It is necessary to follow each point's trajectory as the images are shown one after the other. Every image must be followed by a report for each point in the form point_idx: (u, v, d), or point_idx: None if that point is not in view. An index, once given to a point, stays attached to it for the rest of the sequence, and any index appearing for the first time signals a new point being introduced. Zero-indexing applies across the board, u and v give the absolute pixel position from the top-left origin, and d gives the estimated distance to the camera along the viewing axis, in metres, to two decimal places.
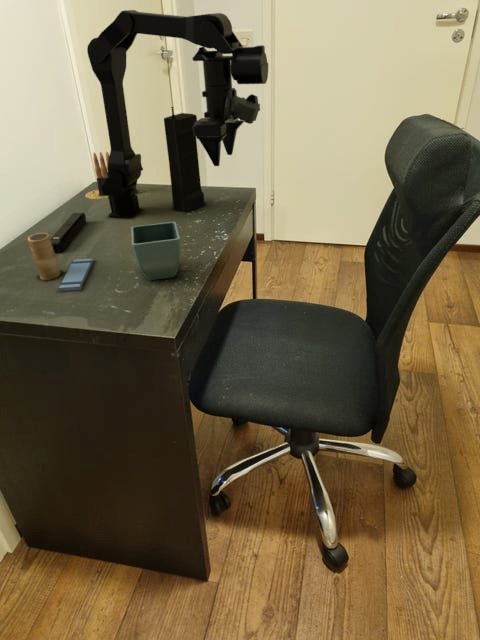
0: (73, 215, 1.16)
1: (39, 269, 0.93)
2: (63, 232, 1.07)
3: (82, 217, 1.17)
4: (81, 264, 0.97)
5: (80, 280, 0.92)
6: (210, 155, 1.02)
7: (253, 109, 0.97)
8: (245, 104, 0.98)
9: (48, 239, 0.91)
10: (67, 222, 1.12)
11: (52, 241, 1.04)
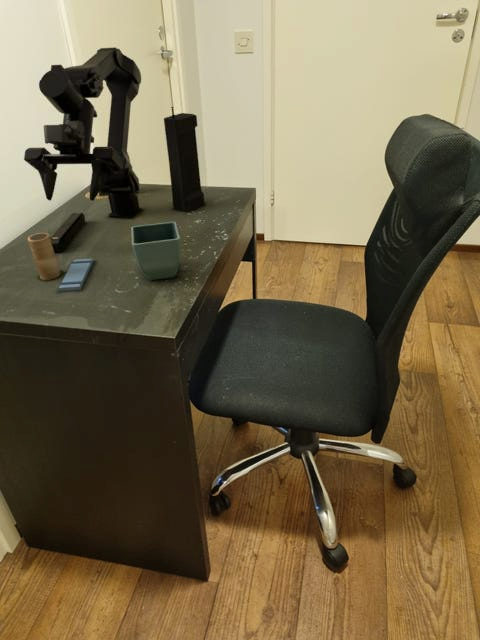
0: (72, 215, 1.16)
1: (39, 269, 0.93)
2: (62, 232, 1.07)
3: (81, 217, 1.17)
4: (81, 264, 0.97)
5: (80, 280, 0.92)
6: None
7: (44, 126, 0.88)
8: None
9: (48, 239, 0.91)
10: (66, 222, 1.12)
11: (51, 241, 1.04)
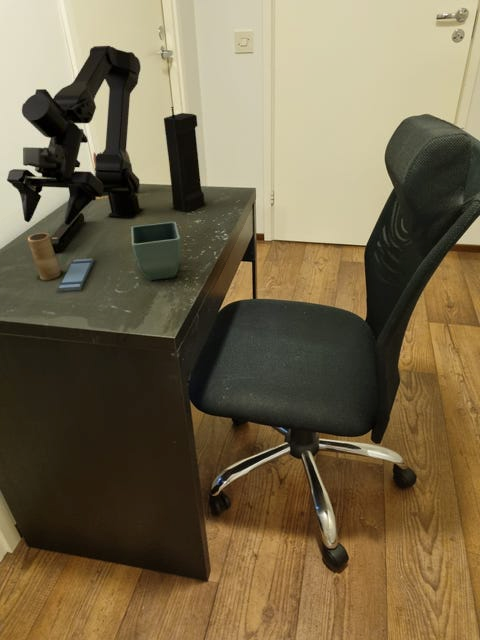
0: None
1: (39, 269, 0.93)
2: (62, 232, 1.07)
3: (80, 217, 1.17)
4: (81, 264, 0.97)
5: (80, 280, 0.92)
6: None
7: (23, 148, 0.88)
8: None
9: (48, 239, 0.91)
10: None
11: (51, 241, 1.04)
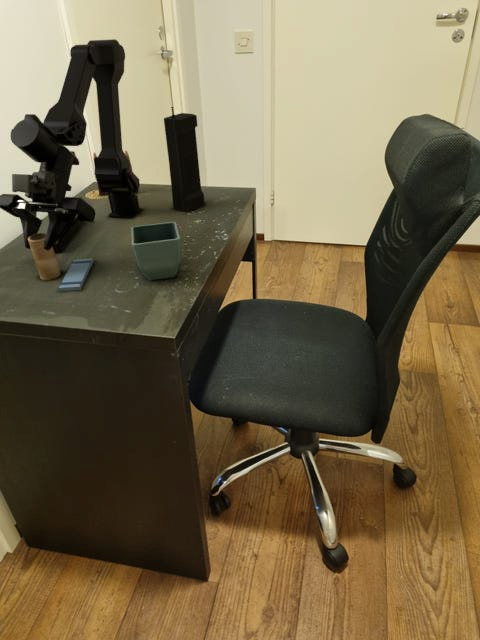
0: None
1: (39, 269, 0.93)
2: None
3: None
4: (81, 264, 0.97)
5: (80, 280, 0.92)
6: None
7: (12, 175, 0.86)
8: None
9: None
10: None
11: None
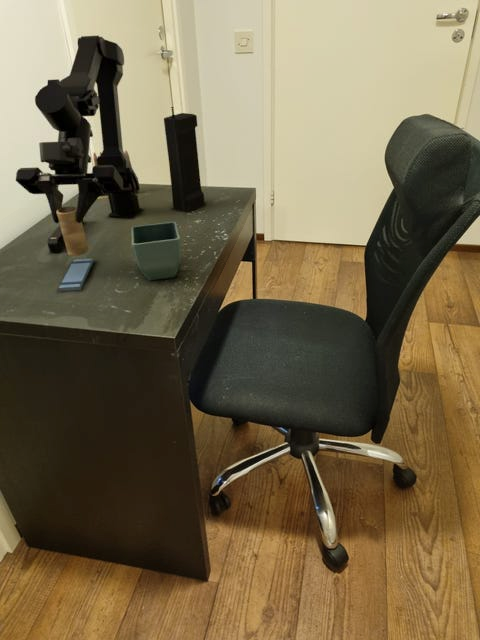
0: None
1: (69, 244, 0.89)
2: (60, 232, 1.07)
3: None
4: (81, 264, 0.97)
5: (80, 280, 0.92)
6: None
7: (39, 143, 0.81)
8: None
9: None
10: None
11: (49, 241, 1.04)
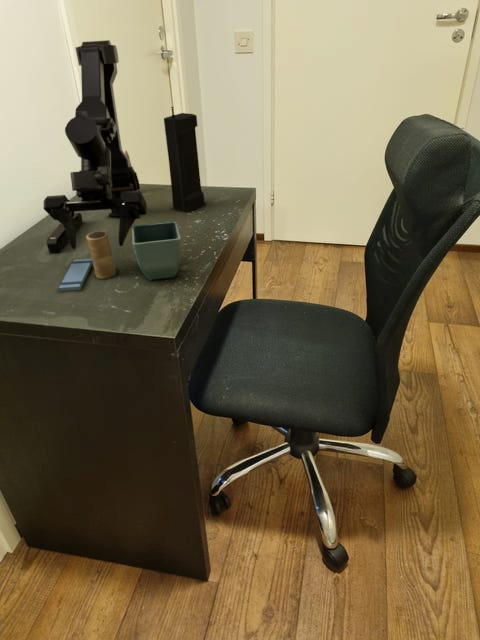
0: None
1: (99, 268, 0.92)
2: (60, 232, 1.07)
3: (78, 217, 1.17)
4: (81, 264, 0.97)
5: (80, 280, 0.92)
6: None
7: (71, 173, 0.84)
8: None
9: (107, 236, 0.91)
10: None
11: (49, 241, 1.04)
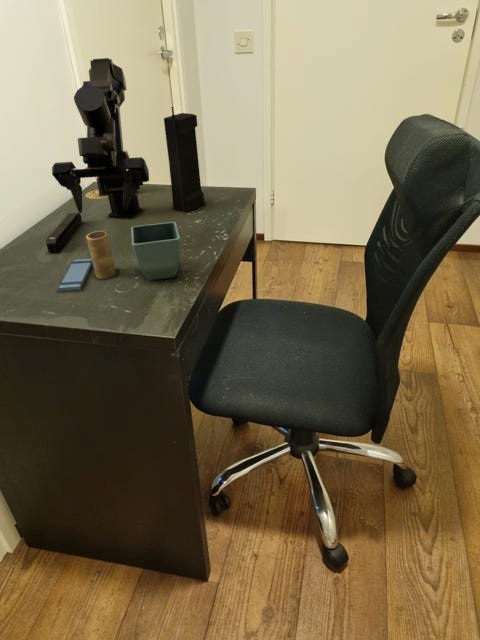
0: (68, 215, 1.16)
1: (99, 268, 0.92)
2: (59, 232, 1.07)
3: (78, 217, 1.17)
4: (81, 264, 0.97)
5: (80, 280, 0.92)
6: None
7: (78, 139, 0.90)
8: None
9: (107, 236, 0.91)
10: (63, 222, 1.12)
11: (48, 241, 1.04)
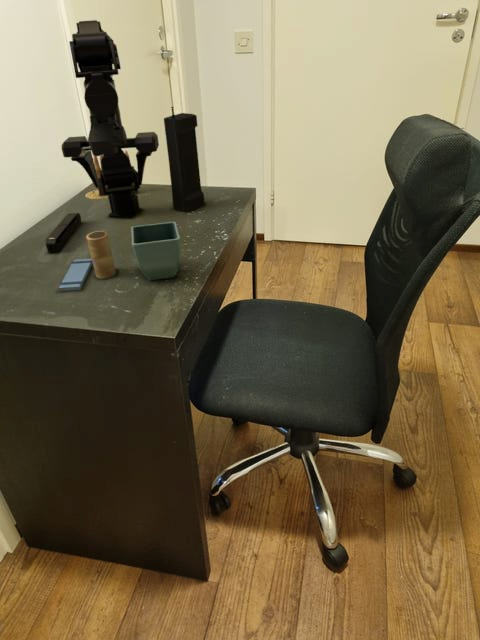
0: (68, 215, 1.16)
1: (99, 268, 0.92)
2: (58, 232, 1.07)
3: (77, 217, 1.17)
4: (81, 264, 0.97)
5: (80, 280, 0.92)
6: None
7: (89, 141, 0.88)
8: (93, 134, 0.89)
9: (107, 236, 0.91)
10: (62, 222, 1.12)
11: (48, 241, 1.04)
